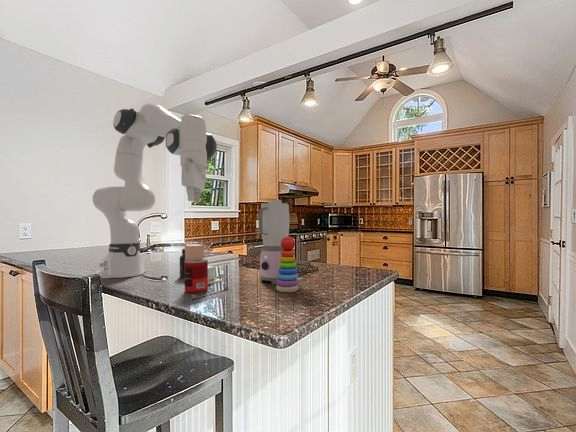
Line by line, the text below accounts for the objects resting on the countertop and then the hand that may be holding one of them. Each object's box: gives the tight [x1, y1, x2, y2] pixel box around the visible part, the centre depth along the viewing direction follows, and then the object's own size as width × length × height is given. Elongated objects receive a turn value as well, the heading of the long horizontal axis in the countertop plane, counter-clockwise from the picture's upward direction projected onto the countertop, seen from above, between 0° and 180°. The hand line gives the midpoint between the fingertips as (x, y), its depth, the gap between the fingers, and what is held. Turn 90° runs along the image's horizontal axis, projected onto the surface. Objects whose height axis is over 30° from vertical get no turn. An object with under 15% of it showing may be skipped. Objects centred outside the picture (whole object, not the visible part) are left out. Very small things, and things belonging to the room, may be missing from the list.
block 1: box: [184, 243, 204, 261], centre depth 109 cm, size 5×5×5 cm
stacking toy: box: [275, 235, 300, 293], centre depth 109 cm, size 8×8×19 cm
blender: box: [257, 199, 290, 285], centre depth 123 cm, size 16×12×32 cm
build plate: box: [208, 278, 222, 286], centre depth 123 cm, size 9×8×1 cm
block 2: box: [208, 265, 216, 281], centre depth 123 cm, size 5×5×5 cm
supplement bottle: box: [179, 248, 186, 279], centre depth 133 cm, size 7×7×12 cm
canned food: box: [184, 257, 209, 294], centre depth 110 cm, size 8×8×11 cm
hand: (194, 201), depth 109 cm, fingers open, 8 cm apart
